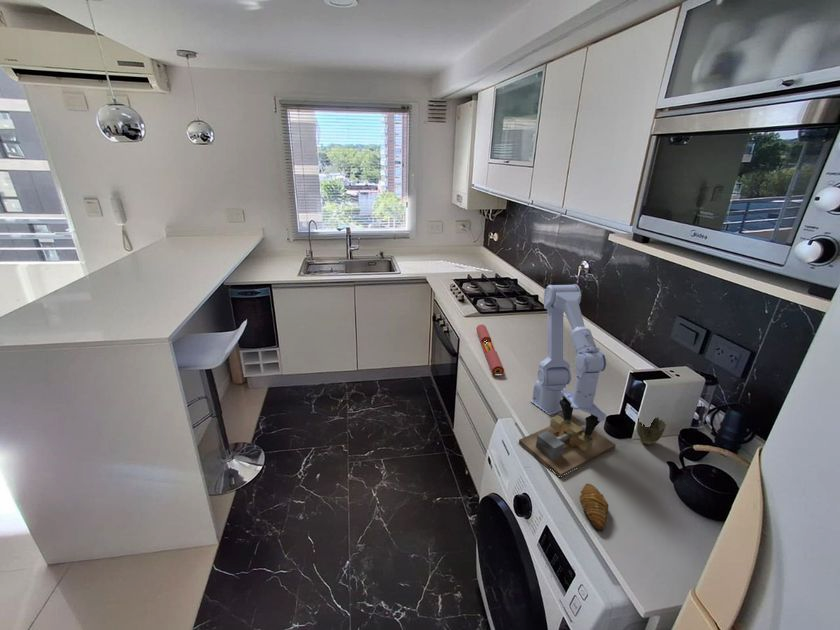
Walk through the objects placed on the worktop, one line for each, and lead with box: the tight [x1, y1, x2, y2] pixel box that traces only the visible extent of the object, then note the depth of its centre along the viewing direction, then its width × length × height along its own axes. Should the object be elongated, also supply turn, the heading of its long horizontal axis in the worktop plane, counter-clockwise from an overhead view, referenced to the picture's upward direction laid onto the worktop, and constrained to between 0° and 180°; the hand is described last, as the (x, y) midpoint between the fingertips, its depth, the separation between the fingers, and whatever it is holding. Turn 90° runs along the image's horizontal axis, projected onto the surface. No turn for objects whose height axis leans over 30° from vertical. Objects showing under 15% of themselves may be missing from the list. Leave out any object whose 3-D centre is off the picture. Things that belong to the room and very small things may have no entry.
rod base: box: [518, 415, 617, 478], centre depth 118 cm, size 16×24×6 cm, turn 120°
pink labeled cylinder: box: [476, 324, 505, 376], centre depth 175 cm, size 42×5×5 cm, turn 1°
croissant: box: [579, 483, 609, 532], centre depth 96 cm, size 14×7×5 cm, turn 170°
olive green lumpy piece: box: [636, 416, 667, 446], centre depth 119 cm, size 8×7×8 cm
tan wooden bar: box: [549, 414, 593, 451], centre depth 117 cm, size 13×3×5 cm, turn 30°
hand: (577, 427), depth 118 cm, fingers open, 7 cm apart
